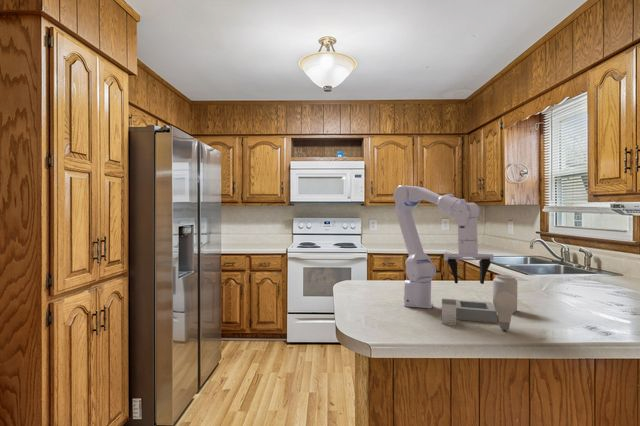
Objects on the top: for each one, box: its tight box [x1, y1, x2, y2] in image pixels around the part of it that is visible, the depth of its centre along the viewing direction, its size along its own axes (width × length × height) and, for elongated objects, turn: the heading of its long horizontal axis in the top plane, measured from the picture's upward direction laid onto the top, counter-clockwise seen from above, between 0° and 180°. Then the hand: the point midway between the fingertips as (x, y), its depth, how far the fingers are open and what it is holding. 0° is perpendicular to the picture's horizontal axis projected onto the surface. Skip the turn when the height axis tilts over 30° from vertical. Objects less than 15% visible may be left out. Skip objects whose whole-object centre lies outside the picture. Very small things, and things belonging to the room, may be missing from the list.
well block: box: [453, 298, 498, 324], centre depth 119 cm, size 12×12×4 cm
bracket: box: [441, 298, 457, 326], centre depth 112 cm, size 4×5×7 cm
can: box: [492, 274, 518, 313], centre depth 126 cm, size 8×8×12 cm
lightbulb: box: [492, 292, 518, 332], centre depth 105 cm, size 6×6×11 cm
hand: (469, 283), depth 116 cm, fingers open, 7 cm apart
